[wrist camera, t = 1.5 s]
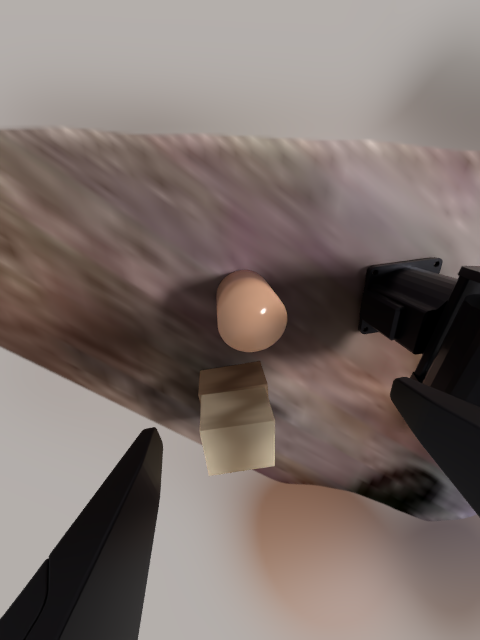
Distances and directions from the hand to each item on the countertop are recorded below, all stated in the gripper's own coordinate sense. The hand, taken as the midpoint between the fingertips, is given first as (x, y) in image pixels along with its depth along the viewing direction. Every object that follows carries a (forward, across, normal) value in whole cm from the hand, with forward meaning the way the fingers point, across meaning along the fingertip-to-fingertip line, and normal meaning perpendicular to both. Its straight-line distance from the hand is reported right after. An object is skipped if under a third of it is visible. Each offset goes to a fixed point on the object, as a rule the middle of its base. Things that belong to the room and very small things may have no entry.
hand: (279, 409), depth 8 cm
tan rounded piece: (+12, 0, 0) cm, 12 cm away
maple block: (+9, +2, +10) cm, 13 cm away
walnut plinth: (+12, +2, +10) cm, 16 cm away
